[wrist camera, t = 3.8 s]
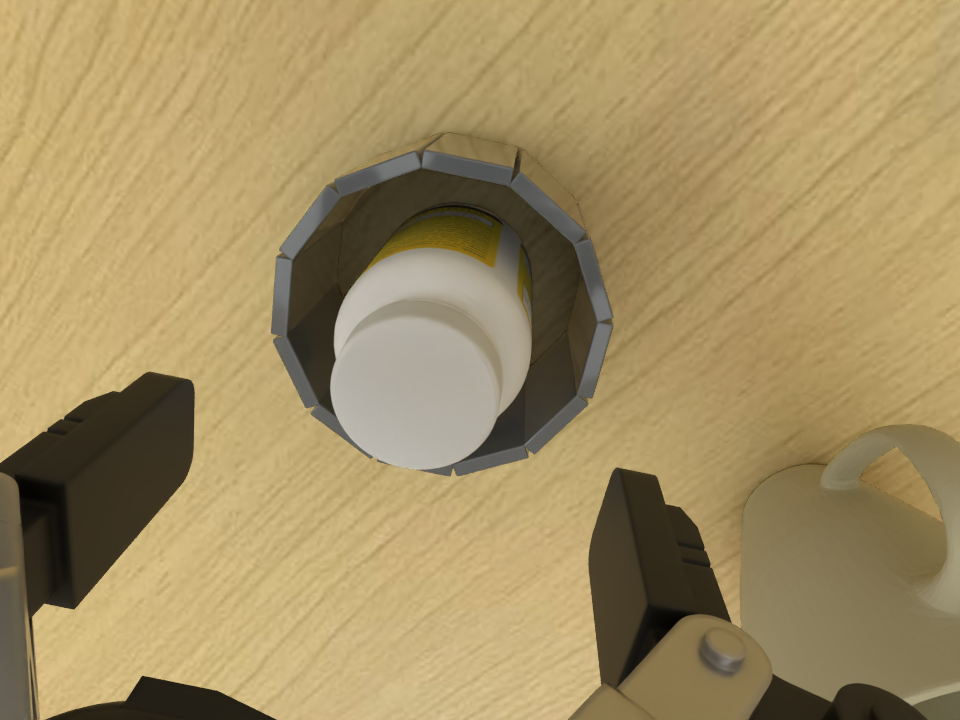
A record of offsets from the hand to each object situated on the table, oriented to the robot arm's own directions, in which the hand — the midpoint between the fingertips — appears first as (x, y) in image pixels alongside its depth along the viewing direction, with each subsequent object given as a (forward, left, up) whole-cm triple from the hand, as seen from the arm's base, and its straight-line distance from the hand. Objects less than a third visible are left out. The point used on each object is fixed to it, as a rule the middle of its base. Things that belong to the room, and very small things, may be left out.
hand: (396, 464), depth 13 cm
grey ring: (0, 0, -13) cm, 13 cm away
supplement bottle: (0, 0, -13) cm, 13 cm away
